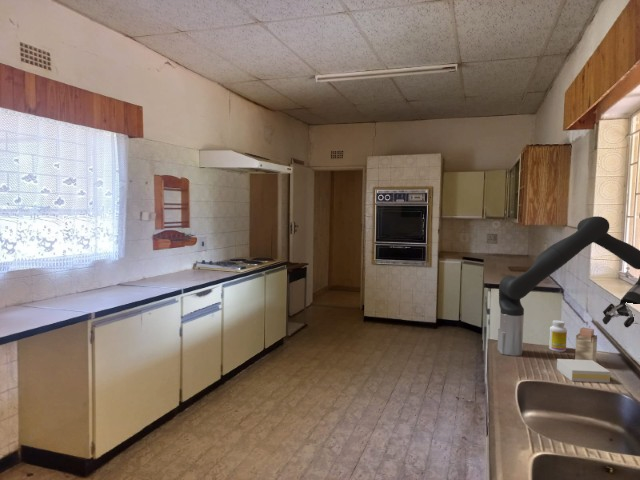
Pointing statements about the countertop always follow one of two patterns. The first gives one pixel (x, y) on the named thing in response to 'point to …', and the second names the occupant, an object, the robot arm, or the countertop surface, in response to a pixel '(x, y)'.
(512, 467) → the countertop surface
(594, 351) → the box
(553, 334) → the supplement bottle
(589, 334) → the block
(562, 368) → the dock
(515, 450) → the countertop surface
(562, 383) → the countertop surface
